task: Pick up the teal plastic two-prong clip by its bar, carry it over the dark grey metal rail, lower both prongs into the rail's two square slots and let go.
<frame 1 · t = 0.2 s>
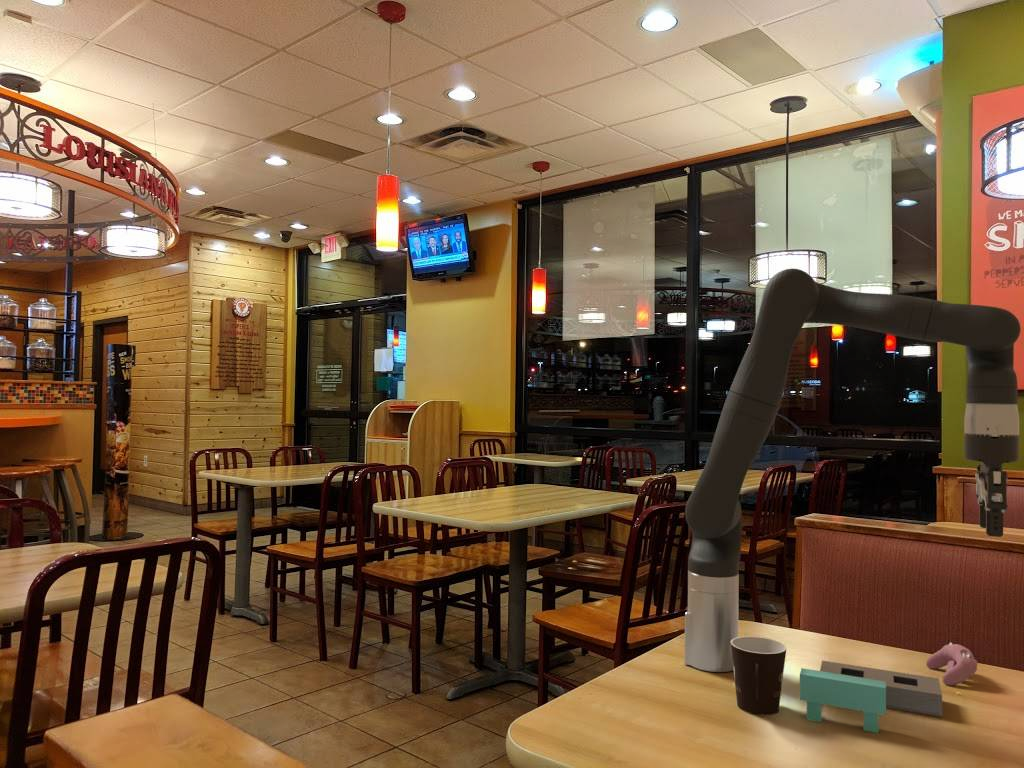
hand: (990, 531, 121), 29 cm above the table, fingers open, 8 cm apart
slotted rail: (878, 697, 125), on the table
two prong clip: (842, 723, 115), on the table
video game controller: (951, 678, 135), on the table
coffee mug: (753, 710, 120), on the table
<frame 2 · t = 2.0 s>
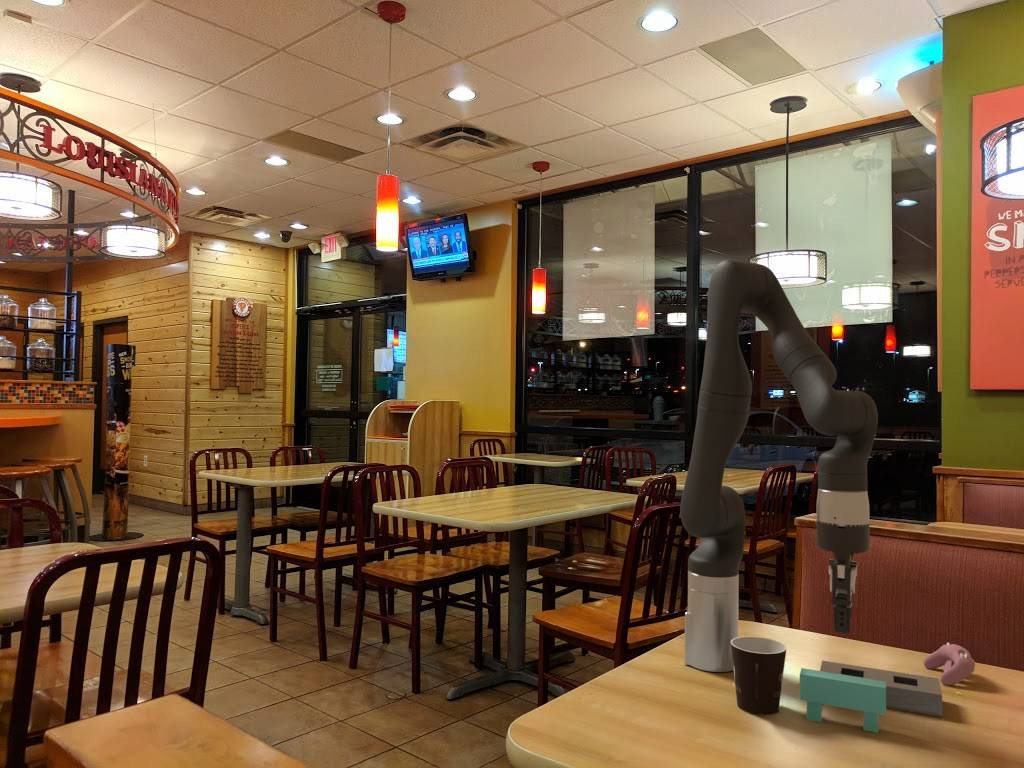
hand: (843, 624, 115), 15 cm above the table, fingers open, 8 cm apart
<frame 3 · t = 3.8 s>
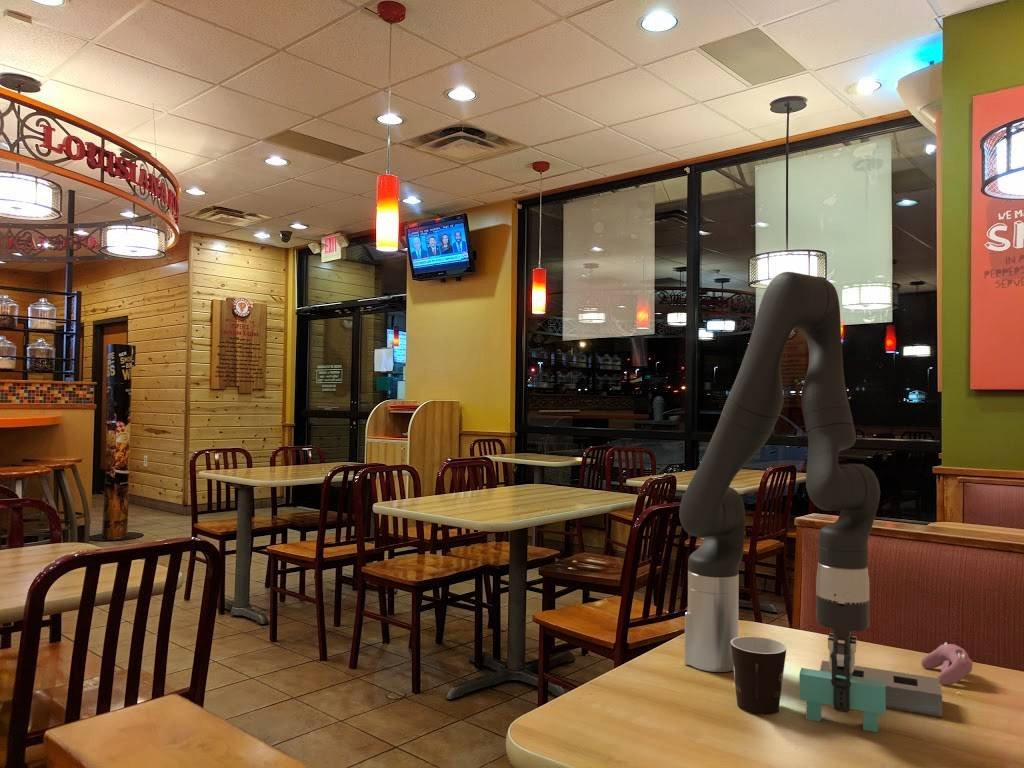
hand: (842, 706, 115), 3 cm above the table, fingers closed on two prong clip, 3 cm apart
two prong clip: (841, 723, 115), on the table, touching gripper
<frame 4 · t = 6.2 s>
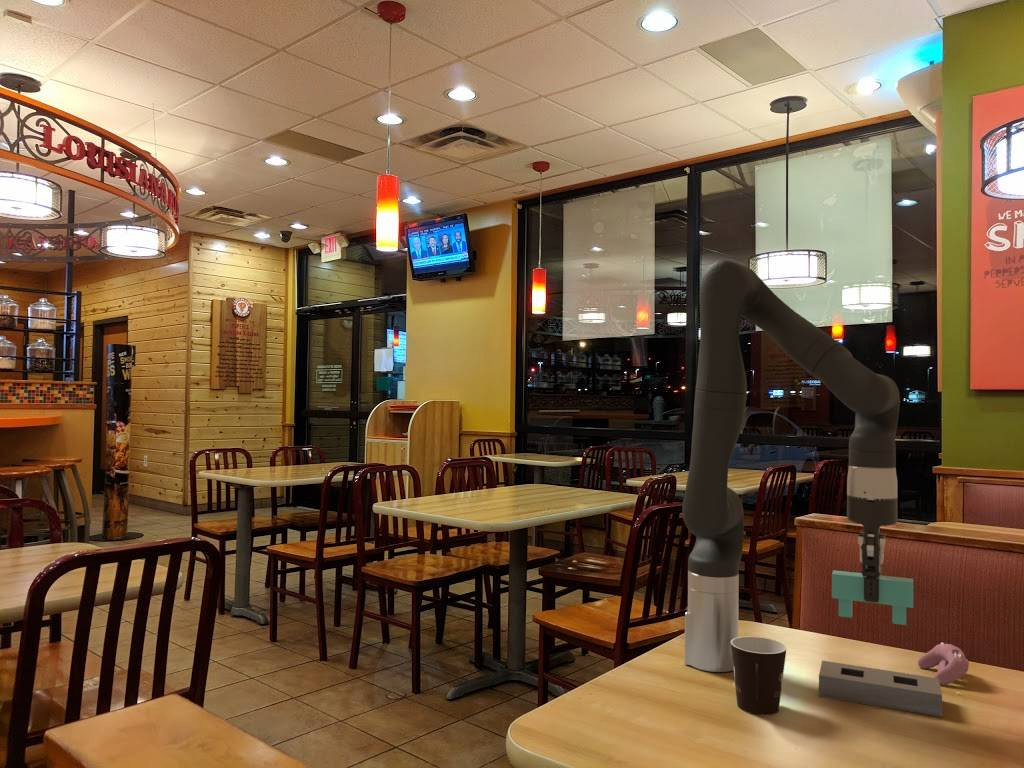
hand: (871, 598, 123), 17 cm above the table, fingers closed on two prong clip, 3 cm apart
two prong clip: (872, 619, 123), point 14 cm above the table, touching gripper
when the fingers open (4 cm above the table, at t = 8.6 s): two prong clip stays where it is, resting on slotted rail.
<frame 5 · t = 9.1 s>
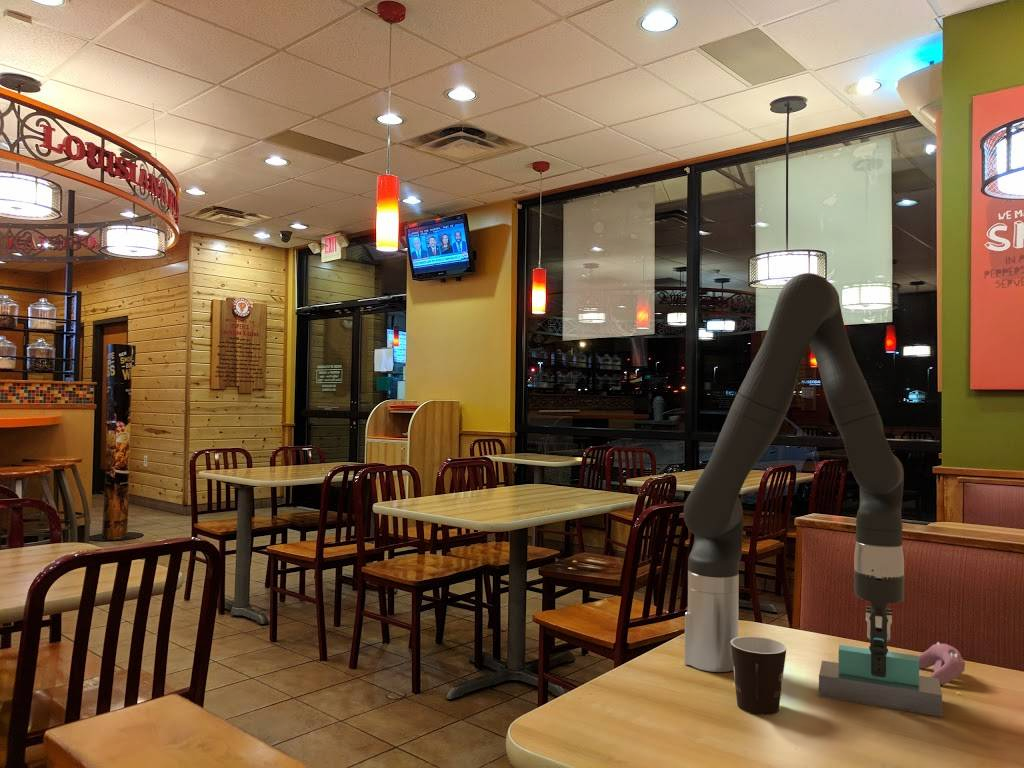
hand: (878, 668, 125), 5 cm above the table, fingers open, 7 cm apart
two prong clip: (877, 694, 125), resting on slotted rail
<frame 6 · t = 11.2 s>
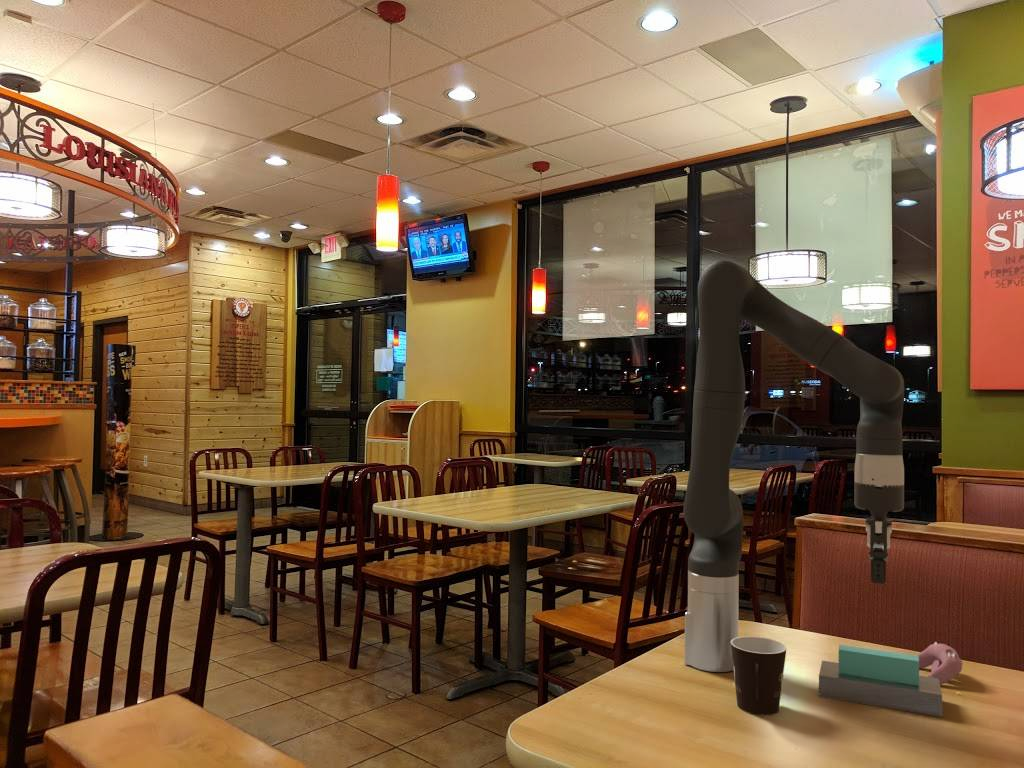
hand: (878, 577, 126), 20 cm above the table, fingers open, 8 cm apart
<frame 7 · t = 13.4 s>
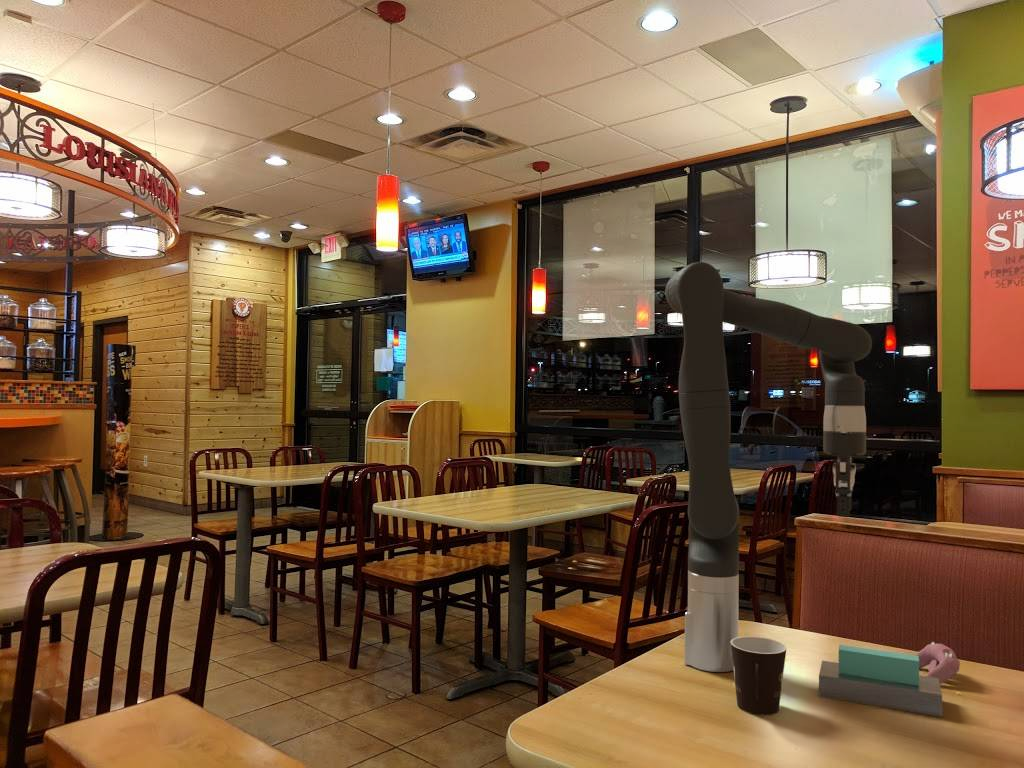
hand: (844, 513, 144), 28 cm above the table, fingers open, 8 cm apart
at the end: two prong clip 0.1 cm off-centre on the slotted rail, point 0.5 cm above the slotted rail's base; two prong clip tilted 0°; the gripper is holding nothing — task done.
